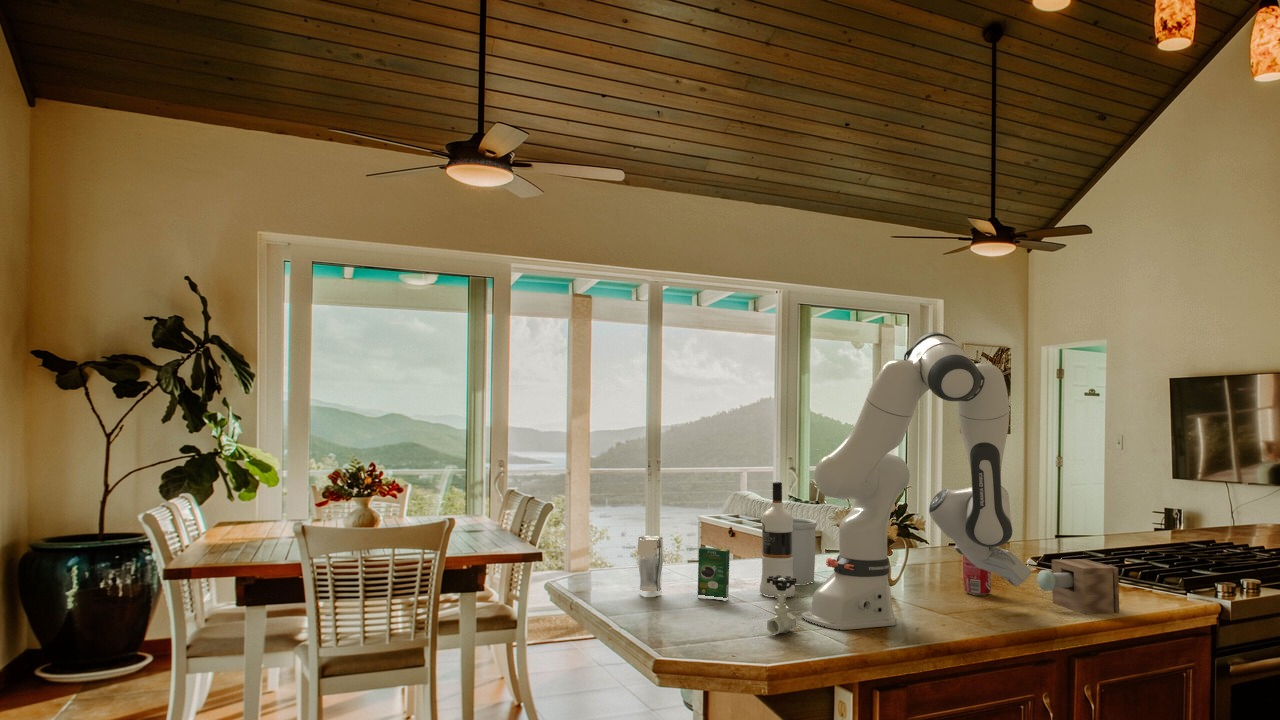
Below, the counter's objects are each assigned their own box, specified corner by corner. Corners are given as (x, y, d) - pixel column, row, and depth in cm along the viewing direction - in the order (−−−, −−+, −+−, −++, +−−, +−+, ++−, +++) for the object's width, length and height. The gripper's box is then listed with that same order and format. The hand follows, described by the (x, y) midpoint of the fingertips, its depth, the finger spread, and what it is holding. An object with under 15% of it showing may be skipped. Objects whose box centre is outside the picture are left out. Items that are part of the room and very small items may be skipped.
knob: (1050, 592, 201) (1050, 572, 201) (1037, 588, 206) (1037, 568, 206) (1085, 591, 202) (1084, 571, 202) (1071, 587, 207) (1071, 567, 207)
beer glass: (644, 591, 218) (644, 535, 219) (667, 593, 215) (667, 537, 216) (632, 596, 212) (633, 538, 213) (656, 599, 209) (656, 540, 210)
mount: (1084, 613, 198) (1083, 568, 199) (1052, 602, 210) (1051, 559, 210) (1119, 612, 199) (1118, 567, 200) (1085, 601, 211) (1084, 559, 212)
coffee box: (730, 599, 209) (730, 548, 210) (726, 602, 207) (727, 550, 207) (700, 596, 212) (701, 546, 213) (697, 599, 210) (697, 548, 211)
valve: (760, 633, 177) (760, 578, 178) (776, 628, 182) (776, 574, 183) (786, 639, 173) (786, 582, 173) (802, 633, 177) (802, 578, 178)
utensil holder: (823, 579, 237) (823, 519, 238) (806, 588, 224) (806, 524, 225) (776, 573, 245) (776, 515, 246) (757, 582, 232) (757, 520, 233)
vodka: (796, 599, 210) (796, 483, 212) (760, 598, 211) (760, 483, 213) (793, 592, 219) (793, 480, 221) (759, 590, 220) (759, 480, 222)
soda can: (986, 591, 223) (985, 547, 224) (995, 596, 216) (994, 551, 217) (960, 590, 224) (959, 546, 224) (967, 596, 217) (967, 550, 217)
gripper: (1012, 541, 191) (1051, 582, 192) (966, 529, 212) (1001, 567, 212) (995, 561, 190) (1035, 602, 191) (950, 547, 211) (986, 584, 211)
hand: (1017, 583), depth 202 cm, fingers closed
